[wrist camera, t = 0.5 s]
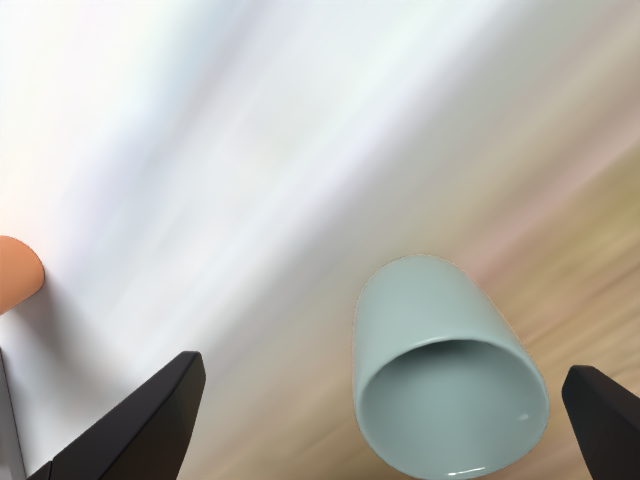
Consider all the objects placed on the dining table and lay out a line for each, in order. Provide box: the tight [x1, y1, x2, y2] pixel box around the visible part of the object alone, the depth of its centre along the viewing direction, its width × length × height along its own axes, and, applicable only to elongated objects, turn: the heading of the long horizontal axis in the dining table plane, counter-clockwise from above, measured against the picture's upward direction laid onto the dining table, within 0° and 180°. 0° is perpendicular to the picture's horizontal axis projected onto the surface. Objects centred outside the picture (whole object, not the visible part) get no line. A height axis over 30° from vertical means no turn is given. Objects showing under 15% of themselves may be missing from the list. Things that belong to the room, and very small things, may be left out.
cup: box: [352, 254, 550, 480], centre depth 20 cm, size 8×8×10 cm
